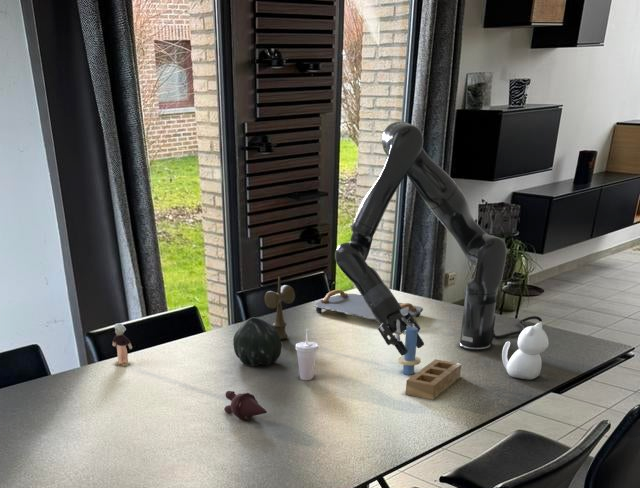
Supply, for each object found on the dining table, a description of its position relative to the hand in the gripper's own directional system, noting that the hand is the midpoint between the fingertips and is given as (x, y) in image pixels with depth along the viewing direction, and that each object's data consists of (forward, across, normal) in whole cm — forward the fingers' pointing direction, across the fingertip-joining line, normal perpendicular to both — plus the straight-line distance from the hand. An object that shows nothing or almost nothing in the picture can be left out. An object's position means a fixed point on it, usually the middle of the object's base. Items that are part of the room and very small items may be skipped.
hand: (413, 350), depth 207 cm
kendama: (-32, +2, +42) cm, 53 cm away
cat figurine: (+22, +17, -12) cm, 31 cm away
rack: (+12, -4, -2) cm, 13 cm away
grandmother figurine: (-46, -47, +57) cm, 87 cm away
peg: (+4, 0, +6) cm, 7 cm away
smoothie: (-10, -21, +20) cm, 31 cm away
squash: (-24, -20, +34) cm, 47 cm away
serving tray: (-27, +44, +37) cm, 64 cm away
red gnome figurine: (-6, -54, +16) cm, 57 cm away
